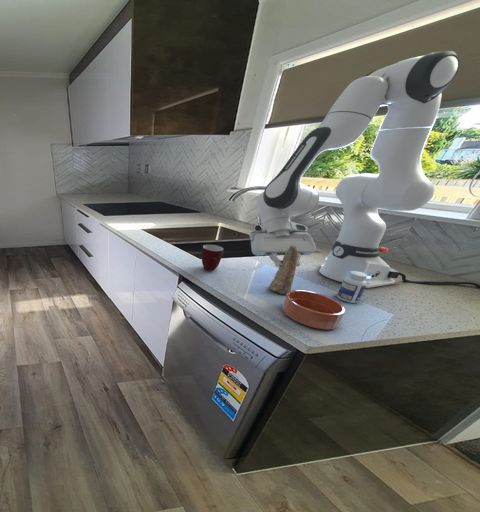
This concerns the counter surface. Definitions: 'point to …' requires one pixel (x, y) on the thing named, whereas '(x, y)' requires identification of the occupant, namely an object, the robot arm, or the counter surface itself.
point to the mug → (211, 256)
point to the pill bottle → (352, 287)
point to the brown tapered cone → (285, 272)
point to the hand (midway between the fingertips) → (288, 266)
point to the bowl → (313, 309)
